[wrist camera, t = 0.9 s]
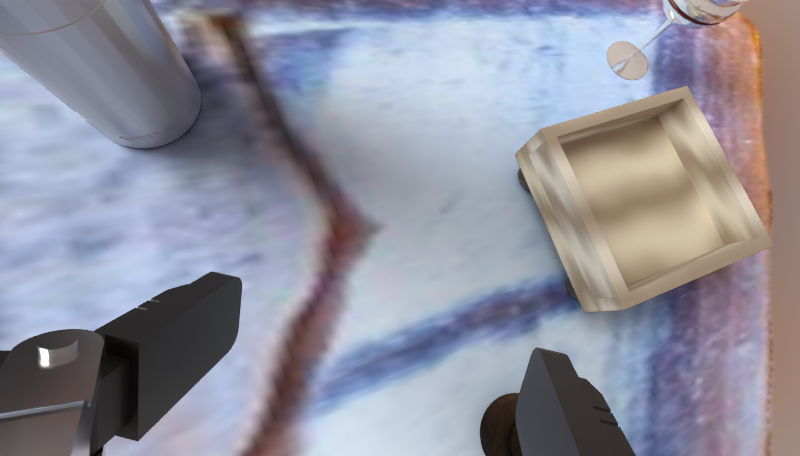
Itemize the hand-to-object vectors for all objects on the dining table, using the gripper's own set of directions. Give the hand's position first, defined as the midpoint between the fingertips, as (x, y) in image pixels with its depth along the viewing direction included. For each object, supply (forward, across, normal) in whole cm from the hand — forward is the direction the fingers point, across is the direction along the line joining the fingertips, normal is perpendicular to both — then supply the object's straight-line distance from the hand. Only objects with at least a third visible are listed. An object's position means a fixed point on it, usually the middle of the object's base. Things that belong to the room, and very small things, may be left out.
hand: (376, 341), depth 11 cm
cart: (+32, -16, 0) cm, 36 cm away
